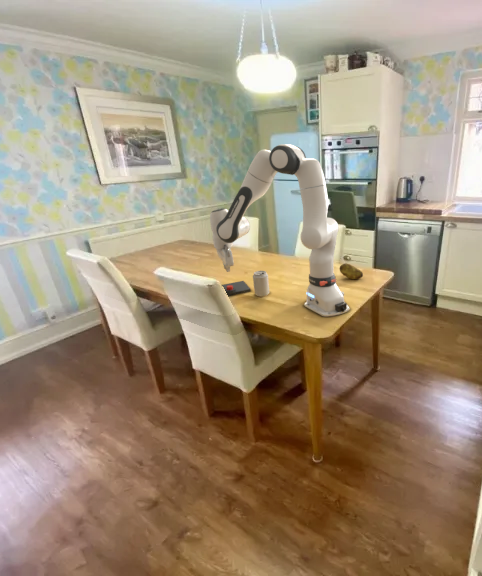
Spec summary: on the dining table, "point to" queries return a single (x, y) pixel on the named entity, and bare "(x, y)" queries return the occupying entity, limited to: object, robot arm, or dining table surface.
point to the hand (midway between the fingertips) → (227, 270)
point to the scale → (237, 288)
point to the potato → (350, 271)
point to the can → (261, 283)
